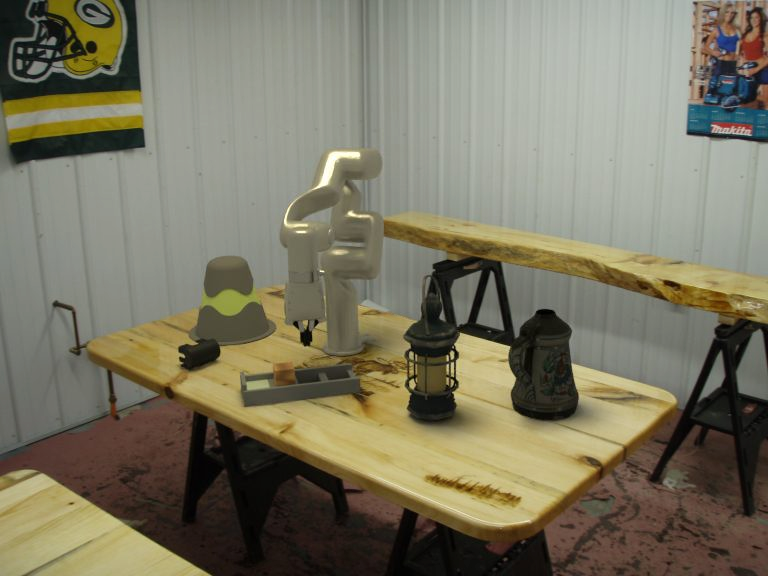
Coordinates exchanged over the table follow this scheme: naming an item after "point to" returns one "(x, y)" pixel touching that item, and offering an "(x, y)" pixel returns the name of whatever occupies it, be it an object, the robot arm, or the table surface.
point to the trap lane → (300, 385)
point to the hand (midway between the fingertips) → (306, 344)
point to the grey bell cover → (230, 305)
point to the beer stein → (543, 368)
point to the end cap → (199, 353)
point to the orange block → (284, 374)
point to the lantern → (431, 360)
